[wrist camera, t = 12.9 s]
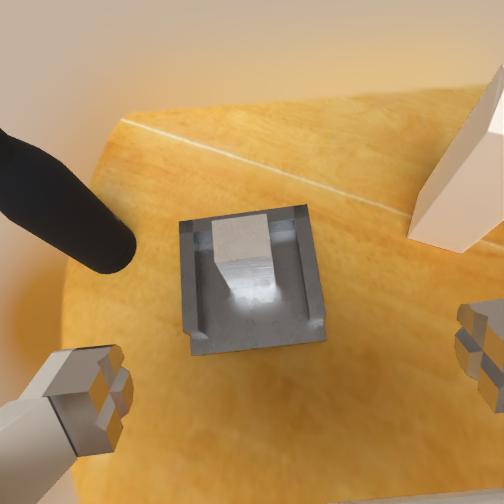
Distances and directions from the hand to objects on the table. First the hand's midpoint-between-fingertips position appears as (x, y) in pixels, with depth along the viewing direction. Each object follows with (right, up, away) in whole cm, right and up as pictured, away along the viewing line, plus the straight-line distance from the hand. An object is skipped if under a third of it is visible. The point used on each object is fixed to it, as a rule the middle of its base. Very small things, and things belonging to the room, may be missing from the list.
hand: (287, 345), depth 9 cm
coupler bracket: (-1, -1, +33) cm, 33 cm away
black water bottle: (-18, +3, +37) cm, 41 cm away
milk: (+20, +5, +34) cm, 40 cm away
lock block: (-1, +1, +33) cm, 33 cm away
